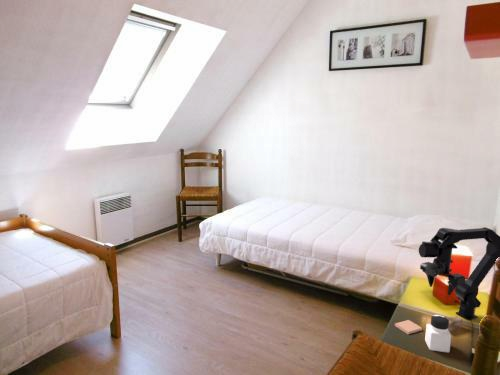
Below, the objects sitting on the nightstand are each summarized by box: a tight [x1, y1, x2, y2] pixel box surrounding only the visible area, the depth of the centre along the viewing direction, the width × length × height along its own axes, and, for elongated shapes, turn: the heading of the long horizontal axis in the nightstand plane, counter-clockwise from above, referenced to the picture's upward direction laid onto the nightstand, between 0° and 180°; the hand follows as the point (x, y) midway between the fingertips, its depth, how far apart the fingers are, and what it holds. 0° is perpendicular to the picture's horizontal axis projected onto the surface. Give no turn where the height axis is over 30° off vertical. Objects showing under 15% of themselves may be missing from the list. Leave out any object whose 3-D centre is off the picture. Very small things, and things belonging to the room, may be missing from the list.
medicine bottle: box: [424, 314, 453, 353], centre depth 141 cm, size 7×7×12 cm
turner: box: [447, 316, 463, 333], centre depth 154 cm, size 16×5×4 cm, turn 114°
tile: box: [394, 319, 423, 335], centre depth 155 cm, size 2×7×8 cm
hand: (439, 290), depth 164 cm, fingers open, 9 cm apart
